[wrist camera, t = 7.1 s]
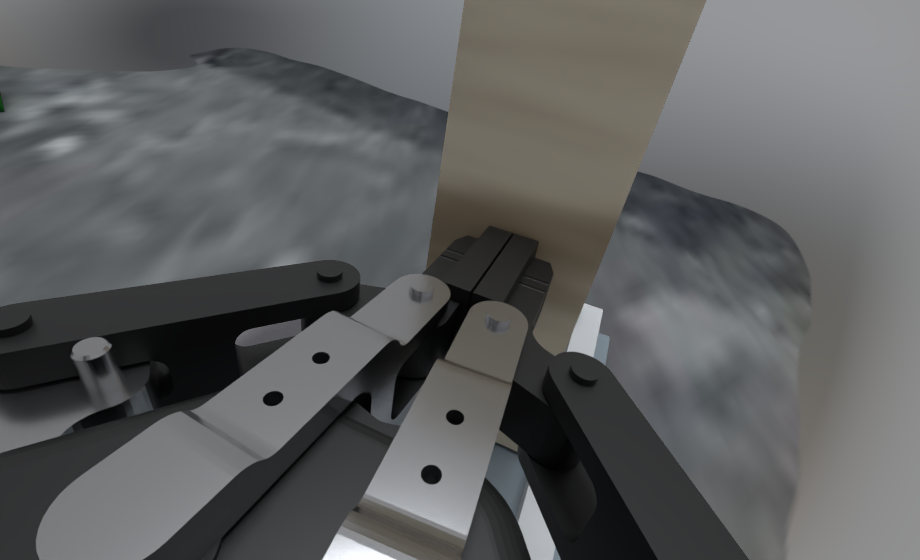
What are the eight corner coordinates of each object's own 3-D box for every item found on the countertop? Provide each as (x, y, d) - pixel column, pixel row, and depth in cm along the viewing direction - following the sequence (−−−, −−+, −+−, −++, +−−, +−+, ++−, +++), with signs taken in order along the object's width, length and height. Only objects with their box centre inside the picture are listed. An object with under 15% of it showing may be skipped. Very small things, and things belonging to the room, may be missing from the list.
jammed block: (523, 454, 17) (893, -464, 6) (407, 402, 18) (528, -450, 7) (549, 371, 21) (796, -263, 10) (453, 333, 22) (577, -274, 11)
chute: (480, 1060, 8) (539, 1110, 6) (73, 738, 10) (0, 684, 8) (603, 350, 25) (630, 293, 22) (442, 289, 27) (451, 232, 25)
